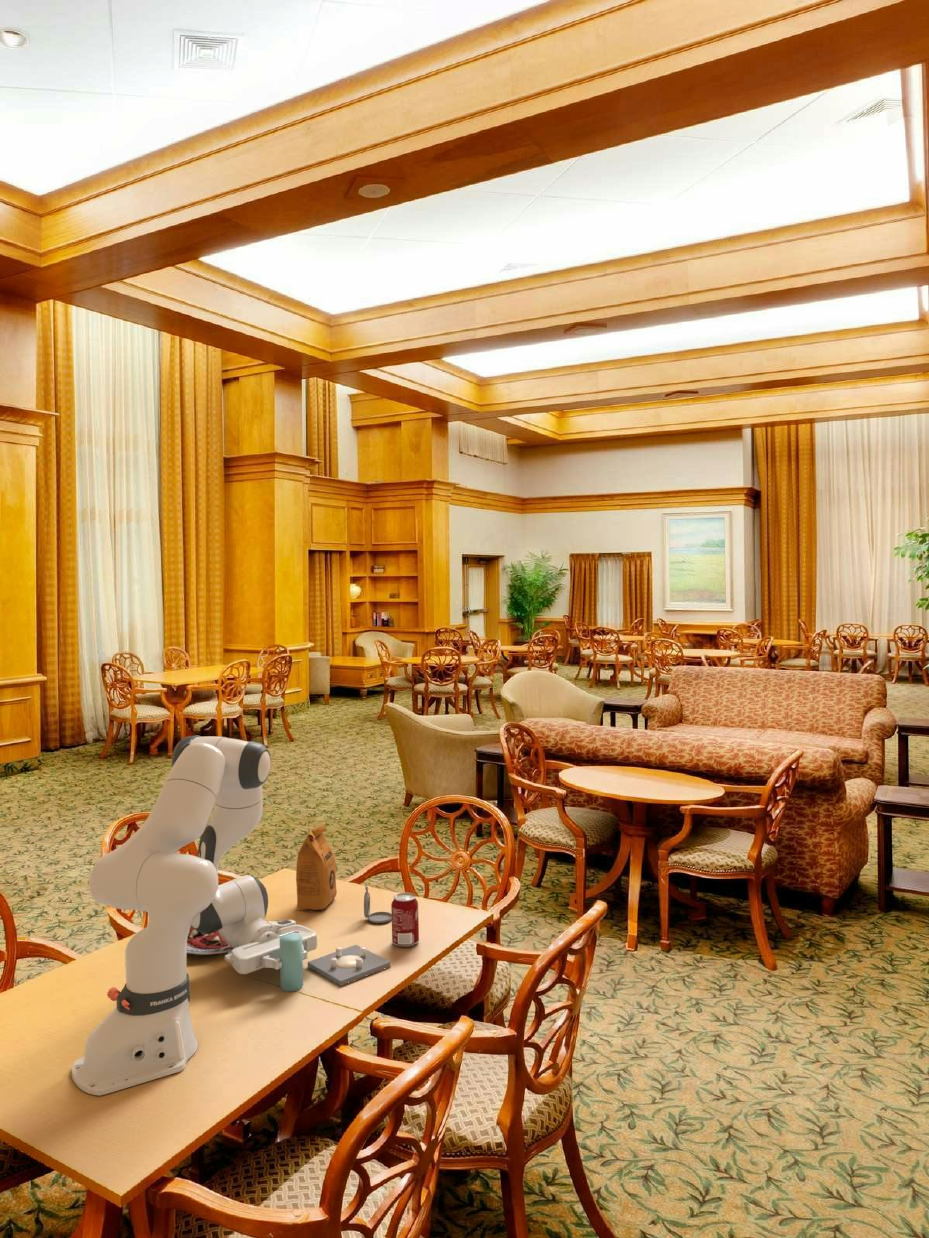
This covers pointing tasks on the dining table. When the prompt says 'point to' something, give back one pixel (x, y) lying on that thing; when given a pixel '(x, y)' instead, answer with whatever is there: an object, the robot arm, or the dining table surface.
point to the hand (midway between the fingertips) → (292, 960)
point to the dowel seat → (348, 964)
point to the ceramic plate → (206, 943)
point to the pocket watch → (377, 916)
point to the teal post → (291, 962)
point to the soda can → (405, 920)
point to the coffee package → (315, 872)
